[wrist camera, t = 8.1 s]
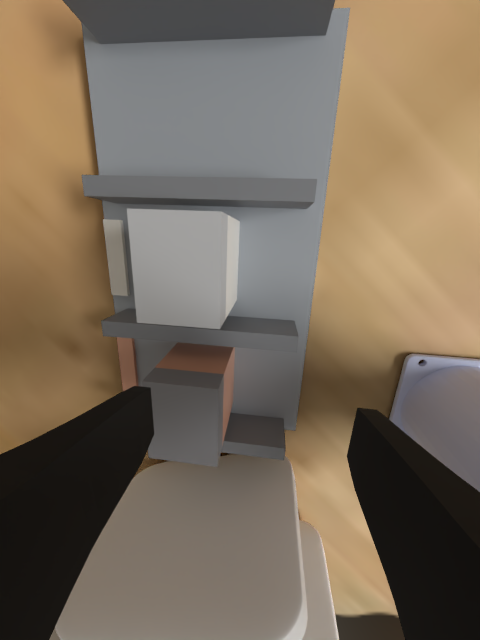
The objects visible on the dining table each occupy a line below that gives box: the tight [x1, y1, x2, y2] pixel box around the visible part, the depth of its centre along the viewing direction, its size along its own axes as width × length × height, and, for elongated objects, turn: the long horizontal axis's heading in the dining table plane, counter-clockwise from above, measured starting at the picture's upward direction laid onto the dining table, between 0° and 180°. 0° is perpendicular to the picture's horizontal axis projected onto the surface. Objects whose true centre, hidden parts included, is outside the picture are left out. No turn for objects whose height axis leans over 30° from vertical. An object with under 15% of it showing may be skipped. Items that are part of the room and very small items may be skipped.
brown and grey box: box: [142, 342, 235, 467], centre depth 16 cm, size 4×5×6 cm
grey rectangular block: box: [127, 209, 240, 329], centre depth 14 cm, size 4×5×6 cm
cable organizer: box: [55, 454, 339, 640], centre depth 19 cm, size 15×11×12 cm
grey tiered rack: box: [63, 0, 350, 460], centre depth 16 cm, size 14×25×4 cm, turn 178°
